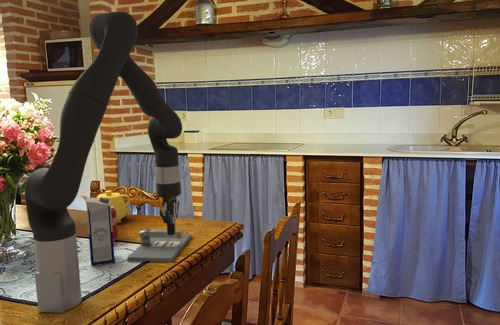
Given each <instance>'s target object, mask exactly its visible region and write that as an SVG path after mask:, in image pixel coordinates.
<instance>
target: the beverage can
mask: <svg viewBox="0 0 500 325" xmlns="http://www.w3.org/2000/svg"><path fill="white" fill-rule="evenodd" d="M111 217H112V231H113V242H114V241H116V240H117V239H118V236H119V233H118V232H119V231H118V223H117V217H116V210H115V209H114V207H113V206H111Z"/></svg>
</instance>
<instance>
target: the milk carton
mask: <svg viewBox="0 0 500 325" xmlns="http://www.w3.org/2000/svg"><path fill="white" fill-rule="evenodd" d="M85 206H86V216H87V227H88V228H87V230H88V239H89V241H88V242H89V256H90V266H91V267H93V266H94V267H95V266H101V265H109V264H115V261H116V260H115V248H114V241H113V231H112V217H111V204H110V201H109V198H105V197H100V199H98V198H97V197H89V196H87V197H86V202H85Z"/></svg>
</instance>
